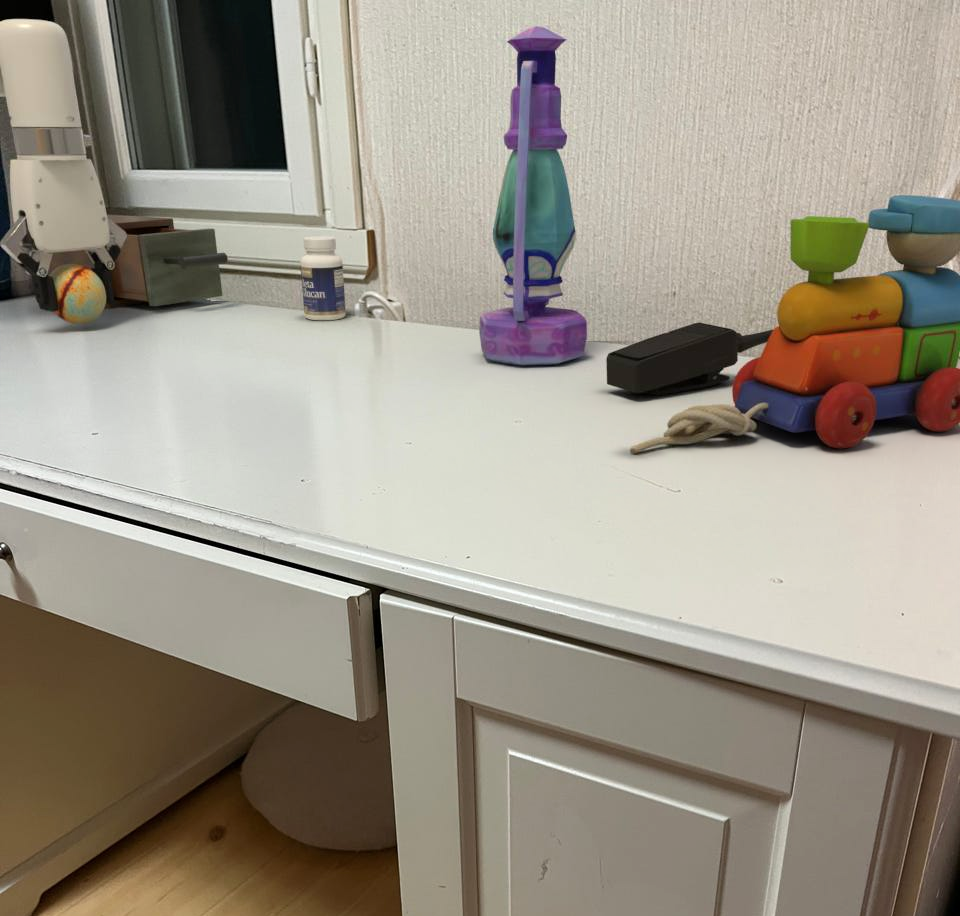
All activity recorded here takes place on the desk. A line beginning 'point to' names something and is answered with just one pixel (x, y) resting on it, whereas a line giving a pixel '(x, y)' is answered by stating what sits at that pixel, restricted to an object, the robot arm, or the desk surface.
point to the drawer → (168, 266)
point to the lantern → (534, 219)
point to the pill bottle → (322, 279)
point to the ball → (78, 293)
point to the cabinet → (84, 260)
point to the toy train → (853, 335)
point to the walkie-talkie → (679, 359)
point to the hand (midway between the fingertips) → (77, 305)
